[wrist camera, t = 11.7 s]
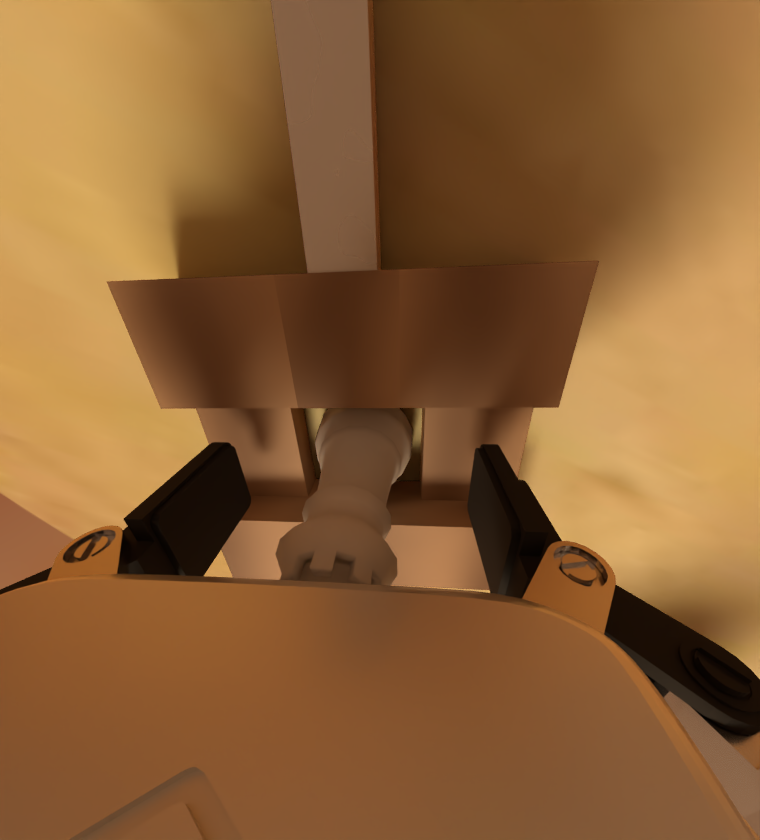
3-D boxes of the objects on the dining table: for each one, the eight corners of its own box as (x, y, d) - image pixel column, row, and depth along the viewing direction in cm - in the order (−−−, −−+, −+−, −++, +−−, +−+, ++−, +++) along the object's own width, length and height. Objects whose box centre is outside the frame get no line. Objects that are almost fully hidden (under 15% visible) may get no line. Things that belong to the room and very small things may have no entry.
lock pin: (430, -390, 5) (475, -1442, 2) (416, 285, 10) (422, 289, 7) (189, -334, 6) (-94, -1142, 2) (290, 290, 11) (243, 295, 8)
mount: (546, 265, 10) (599, 260, 7) (490, 539, 16) (507, 590, 14) (177, 280, 11) (106, 281, 8) (259, 531, 17) (233, 577, 15)
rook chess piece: (303, 421, 14) (194, 580, 7) (376, 370, 12) (339, 503, 5) (358, 482, 15) (320, 665, 8) (430, 443, 14) (460, 624, 7)
